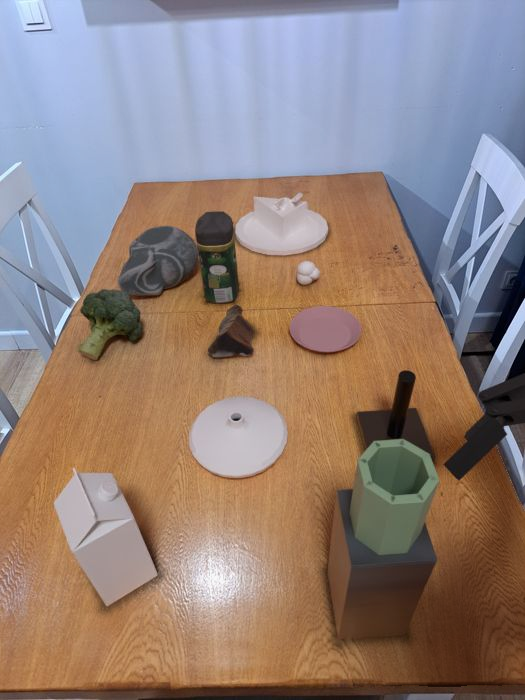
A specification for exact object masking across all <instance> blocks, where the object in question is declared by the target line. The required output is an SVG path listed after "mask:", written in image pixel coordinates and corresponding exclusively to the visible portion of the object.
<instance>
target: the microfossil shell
mask: <svg viewBox="0 0 525 700" xmlns="http://www.w3.org/2000/svg"><path fill="white" fill-rule="evenodd" d="M296 267H297V268H296V272H297V273H296V280H297V282H298V283H299V284H300V285H301V286H308V285H310V284H311V283H312V282H313V281H316V280H318V279H319V278H320V275H321V271H320V270H319V268H318V267H316V265H315V263H313V262H312V261H310V260H304V261H301V262H300V263H299V264H298V266H296Z"/></svg>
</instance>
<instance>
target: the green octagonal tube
mask: <svg viewBox="0 0 525 700" xmlns="http://www.w3.org/2000/svg"><path fill="white" fill-rule="evenodd" d="M439 484H440V478H439V476H438V472H437V470H436V467H435V464H434V461H433V462H432V459H431V457H430V454H429V453H427V452H425V451H423V450H422V449H420V448H418V447H416V446H415V445H413V444H411V443H410V442H408V441H406V440H404V439H395V440H381V441H373V443H372V444H371V445H370V446H369V447H368V448H367V450H366V451H365V450H364V452H363V453H362V454H361V455H360V456H359V457H358V458H357V462H356V469H355V474H354V481H353V488H352V489H353V493H352V500H351V506H350V517H351V522H352V527H353V532H354V536H355V538H356V539H358V540H359V541H360V542H362V543H363V544H364V545H366V546H367V547H369V548H370V549H371V550H373V551H374V552H375V553H377V554H378V555H387V554H400V553H407V552H408V551H409V549H410V548H411V546H412V545H413V543H414V542H415V540H416V539H417V538H418V536H419V535H420V533H421V531H422V528H423V525H424V522H425V523H426V520H427V516H428V514H429V511H430V508H431V506H432V503H433V500H434V497H435V494H436V491H437V489H438V487H439Z"/></svg>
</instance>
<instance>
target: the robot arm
mask: <svg viewBox="0 0 525 700" xmlns="http://www.w3.org/2000/svg"><path fill="white" fill-rule="evenodd" d="M477 396H478V399H479V400H480V402H481V404H482V406H483V407H484V409H485V412H484V414H483V415H482V416H481V417H480V418H479V419H478V420H477V421H476V422H475V423H474V424H473V425H472V426H471V427H470V428H469V429H468V430H467V431H466V432H465V434H464V435H463V438H464V439H465V441H466V442H465V443H463V445H462V446H460V447H459V449H457V450H456V452H454V453H453V454H452V455H451V456H450V457H449V458H448V459H447V460H446V461H445V462H444V463H443V466H444V467H445V469H447V470H448V472H449V473H450V474H451V475H452V476H453V477H454V478H455V479H456V480H457V481H461V479H463V478H464V477H465V476H466V475H468V473H469V472H470V471H471V470H472V469H473V468H474V467H476V466H477V464H478V463H479V462H480V461H481V460H483V458H484V457H486V456H487V455H488V454H489V453H490V452H491V451H492V450H493V449H494V448H495V447H496V446H497V445H498V444H499V443H501V441H502V440H503V439H505V437H507V436H508V433H507V431H506V429H505V427H509V426H515V425H521V424H525V372H524V373H521V374H519V375H516V376H514V377H512V378H510V379H507V380H505V381H501V382H499V383H497V384H495V385H492V386H490V387H488V388H485V389H482V390H481V391H479V393H478V395H477Z"/></svg>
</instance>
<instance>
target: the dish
mask: <svg viewBox="0 0 525 700" xmlns="http://www.w3.org/2000/svg"><path fill="white" fill-rule="evenodd" d="M302 197H303V193H302V192H298V193H297V194H295V195H294V197H292V198H290V197H285V196H284V197H281V198H274V197H266V196H265V197H263V196H253V210H252V211H250V212H248V213H247V214H245V215H243V216H242V217H240V219H239V220H238V221H237V222H236V223H235V231H234V235H235V239H236V240H237V241H238V243H239V244H240V245H241V246H243V248H246V249H248V250H249V251H252V252H254V253H259V254H262V255H267V256H290V255H298V254H302V253H303V254H304V253H305V252H308V251H310V250H314V249H316V248H317V247H318V246H319V245H321V244H322V243H323V242H325V240H326V238H327V236H328V234H329V226H328V222H327V220H326V219H325V218H324V217H323V216H322V215H321V214H320V213H318V212H316V211H313V210H311V209H309V208H308V204H309V203H308V201H305V200H300V199H301V198H302Z"/></svg>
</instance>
